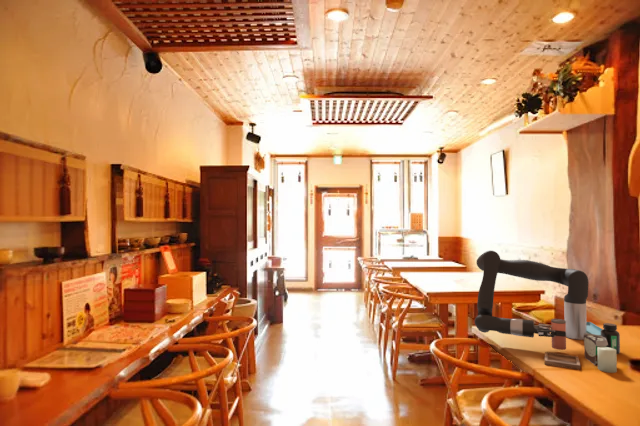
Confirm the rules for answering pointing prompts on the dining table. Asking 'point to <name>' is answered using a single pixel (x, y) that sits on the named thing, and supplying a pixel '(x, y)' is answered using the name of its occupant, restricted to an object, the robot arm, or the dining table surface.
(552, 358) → the tray
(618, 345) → the supplement bottle
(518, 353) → the dining table surface
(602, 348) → the sage tin
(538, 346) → the dining table surface
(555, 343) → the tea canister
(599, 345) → the food container
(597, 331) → the shallow long dish
